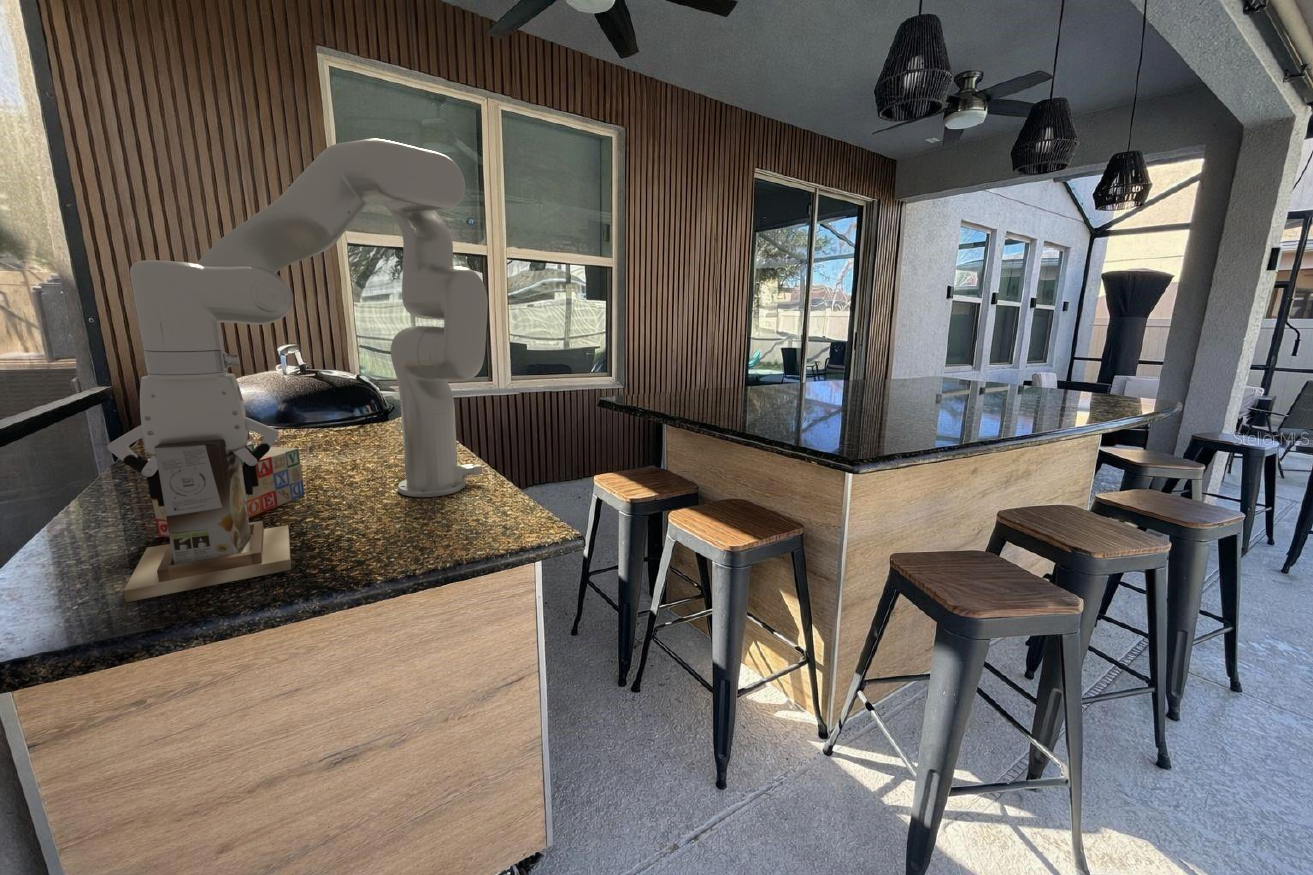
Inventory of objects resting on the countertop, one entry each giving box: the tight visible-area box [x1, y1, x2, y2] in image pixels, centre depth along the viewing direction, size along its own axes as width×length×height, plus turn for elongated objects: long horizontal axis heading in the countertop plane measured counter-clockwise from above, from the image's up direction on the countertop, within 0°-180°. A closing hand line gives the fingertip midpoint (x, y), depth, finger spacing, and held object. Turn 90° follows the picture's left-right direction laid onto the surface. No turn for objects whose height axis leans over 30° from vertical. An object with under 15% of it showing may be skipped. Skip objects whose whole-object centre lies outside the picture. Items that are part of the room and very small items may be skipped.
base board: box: [123, 520, 292, 603], centre depth 72 cm, size 16×14×3 cm
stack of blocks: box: [146, 442, 306, 539], centre depth 89 cm, size 21×6×12 cm, turn 172°
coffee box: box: [154, 440, 251, 565], centre depth 70 cm, size 9×6×16 cm
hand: (208, 497), depth 70 cm, fingers open, 8 cm apart
